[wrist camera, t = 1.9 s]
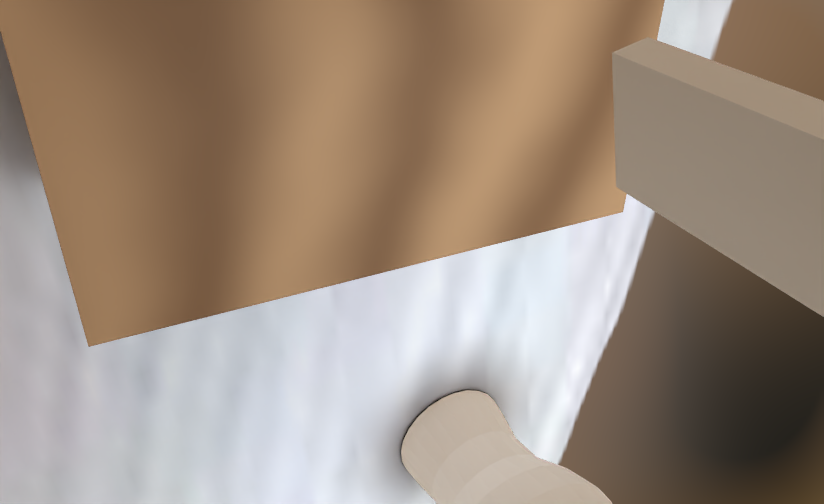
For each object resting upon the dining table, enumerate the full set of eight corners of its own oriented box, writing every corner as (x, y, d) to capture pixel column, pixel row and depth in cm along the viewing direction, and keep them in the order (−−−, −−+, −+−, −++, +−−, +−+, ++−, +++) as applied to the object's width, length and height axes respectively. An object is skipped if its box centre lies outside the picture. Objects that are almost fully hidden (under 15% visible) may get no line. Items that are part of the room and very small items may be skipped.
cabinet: (59, 182, 30) (88, 346, 21) (-18, -111, 24) (-26, -64, 15) (470, 114, 38) (622, 211, 28) (485, -119, 32) (682, -92, 23)
